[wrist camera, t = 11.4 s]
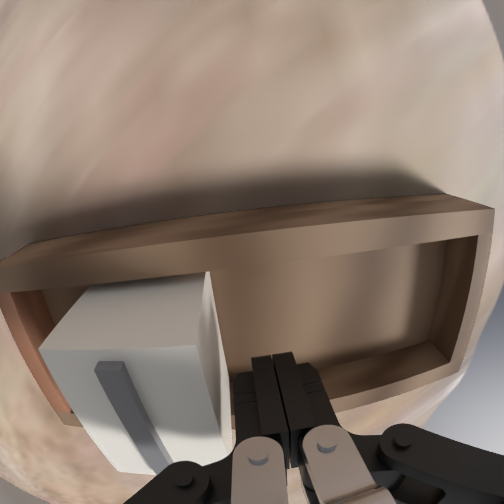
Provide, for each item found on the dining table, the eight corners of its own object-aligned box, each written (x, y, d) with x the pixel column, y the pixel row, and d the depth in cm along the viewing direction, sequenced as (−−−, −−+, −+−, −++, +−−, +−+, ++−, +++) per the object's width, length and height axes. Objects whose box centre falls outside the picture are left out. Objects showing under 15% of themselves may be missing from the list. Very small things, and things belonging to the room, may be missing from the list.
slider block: (207, 260, 13) (194, 354, 7) (229, 379, 15) (234, 481, 9) (101, 272, 12) (32, 356, 6) (141, 384, 15) (116, 478, 9)
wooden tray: (447, 194, 14) (494, 208, 11) (428, 338, 18) (458, 371, 14) (29, 244, 13) (-13, 270, 10) (83, 383, 17) (64, 424, 13)
